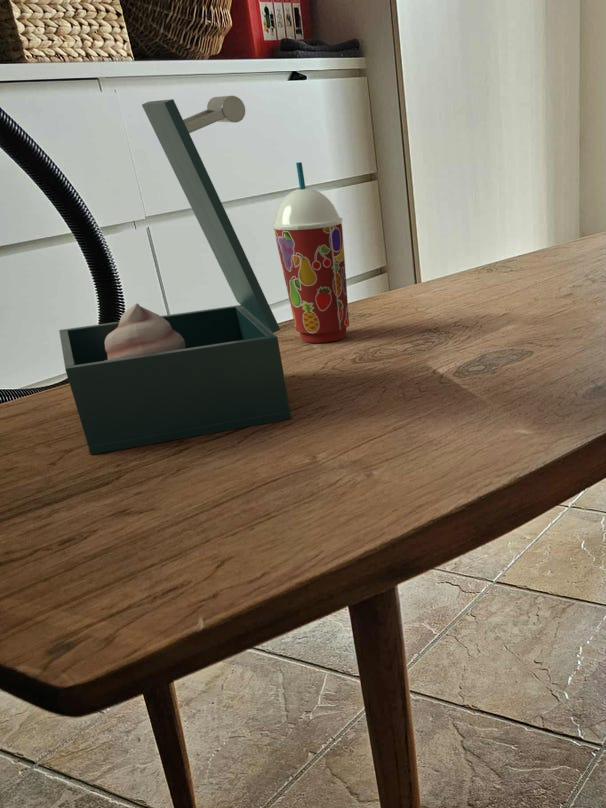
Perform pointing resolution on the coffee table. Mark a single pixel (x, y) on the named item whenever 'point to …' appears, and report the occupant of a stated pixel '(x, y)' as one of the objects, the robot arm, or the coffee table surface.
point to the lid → (210, 194)
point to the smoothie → (313, 263)
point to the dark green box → (177, 381)
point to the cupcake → (141, 335)
